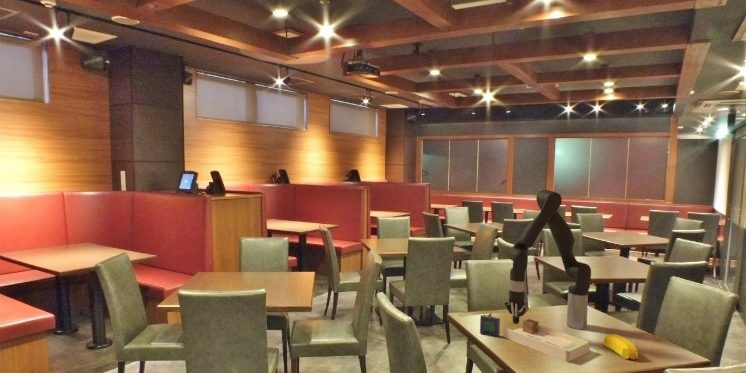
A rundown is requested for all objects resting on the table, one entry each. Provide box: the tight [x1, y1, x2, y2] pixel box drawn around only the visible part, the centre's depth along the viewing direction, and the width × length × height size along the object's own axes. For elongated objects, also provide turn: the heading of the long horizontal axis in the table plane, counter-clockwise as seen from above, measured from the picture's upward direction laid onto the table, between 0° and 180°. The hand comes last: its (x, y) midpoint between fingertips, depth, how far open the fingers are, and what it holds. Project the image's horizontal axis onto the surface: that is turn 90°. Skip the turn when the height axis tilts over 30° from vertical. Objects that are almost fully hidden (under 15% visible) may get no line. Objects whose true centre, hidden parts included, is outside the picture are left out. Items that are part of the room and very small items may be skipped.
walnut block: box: [522, 318, 539, 334], centre depth 212 cm, size 5×5×5 cm
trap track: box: [503, 324, 591, 363], centre depth 202 cm, size 18×32×4 cm, turn 37°
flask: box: [479, 312, 501, 338], centre depth 213 cm, size 9×3×11 cm, turn 68°
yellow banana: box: [603, 333, 639, 360], centre depth 195 cm, size 18×7×8 cm
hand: (515, 323), depth 219 cm, fingers closed
